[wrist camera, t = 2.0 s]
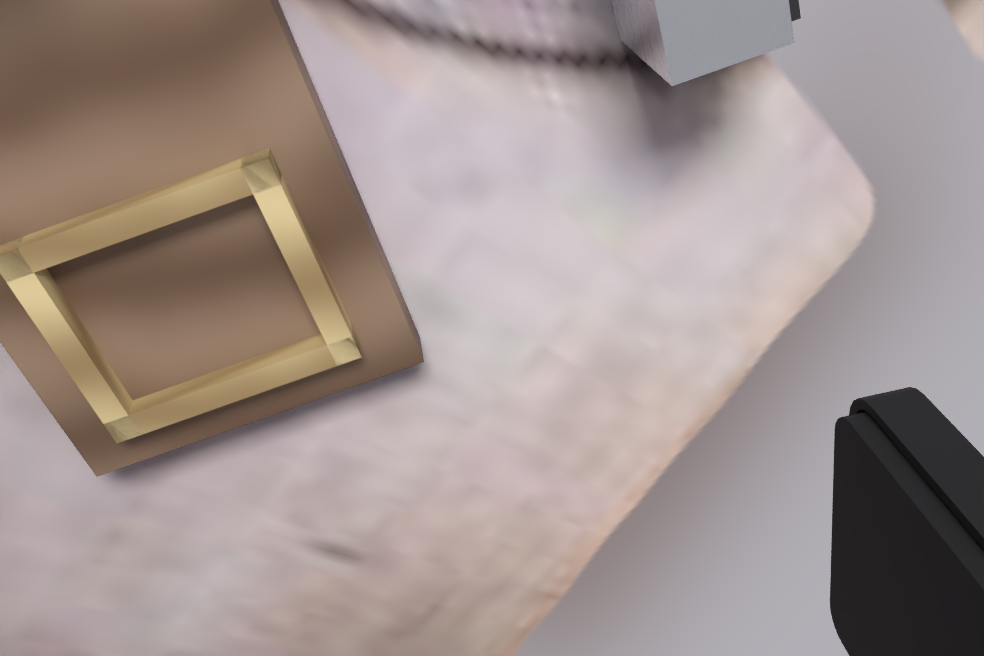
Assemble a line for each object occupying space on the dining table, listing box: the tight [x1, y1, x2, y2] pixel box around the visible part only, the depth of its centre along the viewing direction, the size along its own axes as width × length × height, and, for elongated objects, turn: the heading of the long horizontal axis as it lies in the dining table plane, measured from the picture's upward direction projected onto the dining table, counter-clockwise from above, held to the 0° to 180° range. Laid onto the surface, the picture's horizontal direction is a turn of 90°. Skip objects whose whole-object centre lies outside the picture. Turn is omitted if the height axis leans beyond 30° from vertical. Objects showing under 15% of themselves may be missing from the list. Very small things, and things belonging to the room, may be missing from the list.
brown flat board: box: [0, 0, 424, 476], centre depth 30 cm, size 30×14×3 cm, turn 17°
